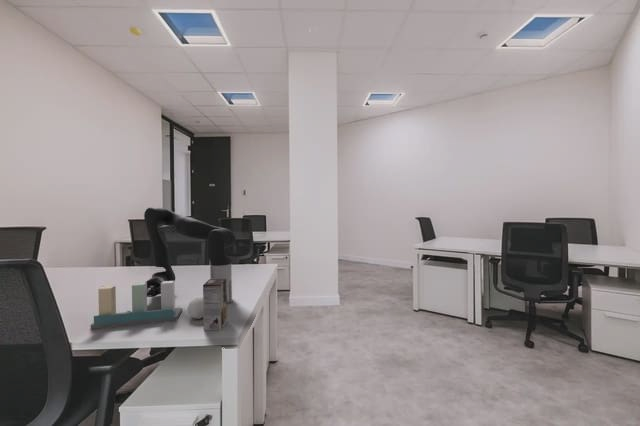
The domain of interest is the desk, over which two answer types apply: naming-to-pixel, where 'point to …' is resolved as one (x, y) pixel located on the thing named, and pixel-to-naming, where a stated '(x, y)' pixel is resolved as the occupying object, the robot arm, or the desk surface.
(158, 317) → the keypad base
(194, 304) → the ball
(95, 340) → the desk surface
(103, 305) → the block
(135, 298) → the key sage
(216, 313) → the coffee box
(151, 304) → the desk surface
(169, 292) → the light grey tall block
